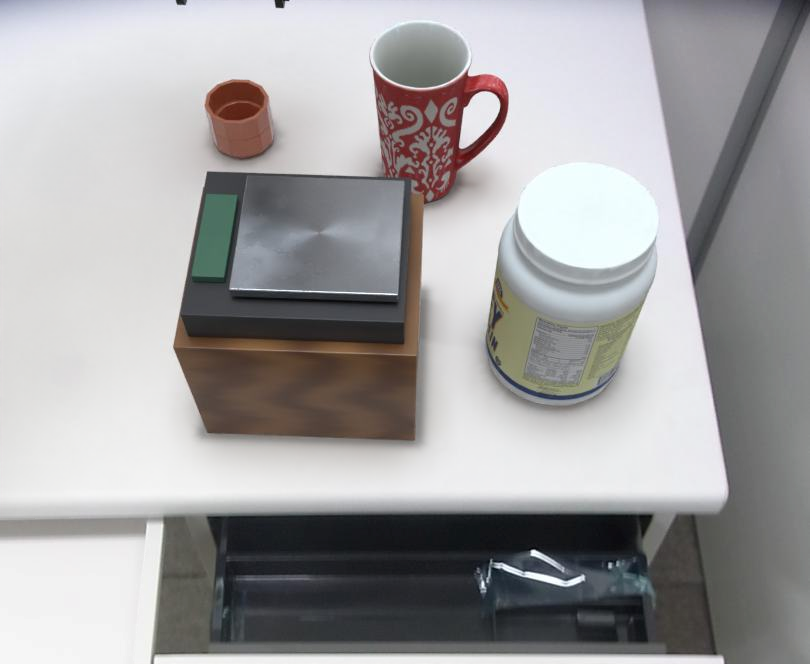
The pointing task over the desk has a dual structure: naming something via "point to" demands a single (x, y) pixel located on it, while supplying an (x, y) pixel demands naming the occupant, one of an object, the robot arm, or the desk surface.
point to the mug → (428, 103)
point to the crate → (310, 375)
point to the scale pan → (319, 239)
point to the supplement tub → (571, 282)
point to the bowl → (239, 118)
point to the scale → (276, 317)
